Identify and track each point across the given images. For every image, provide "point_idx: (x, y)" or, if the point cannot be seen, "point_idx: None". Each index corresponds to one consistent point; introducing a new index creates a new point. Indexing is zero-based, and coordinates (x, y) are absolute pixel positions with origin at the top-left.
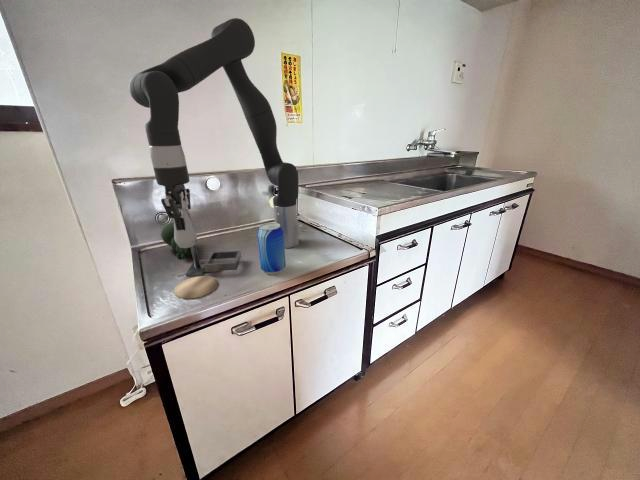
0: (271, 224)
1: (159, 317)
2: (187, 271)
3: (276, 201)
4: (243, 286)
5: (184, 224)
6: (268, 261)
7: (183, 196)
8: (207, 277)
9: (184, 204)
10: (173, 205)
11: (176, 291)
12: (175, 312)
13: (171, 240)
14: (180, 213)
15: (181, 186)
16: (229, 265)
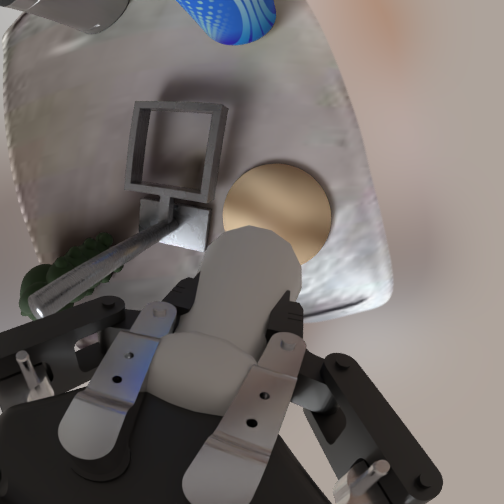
0: None
1: (374, 283)
2: (191, 248)
3: None
4: (311, 96)
5: (282, 305)
6: (268, 9)
7: (207, 446)
8: (236, 192)
9: (231, 378)
10: (420, 447)
11: None
12: (371, 255)
13: (71, 302)
14: (299, 365)
15: (59, 493)
16: (220, 125)
